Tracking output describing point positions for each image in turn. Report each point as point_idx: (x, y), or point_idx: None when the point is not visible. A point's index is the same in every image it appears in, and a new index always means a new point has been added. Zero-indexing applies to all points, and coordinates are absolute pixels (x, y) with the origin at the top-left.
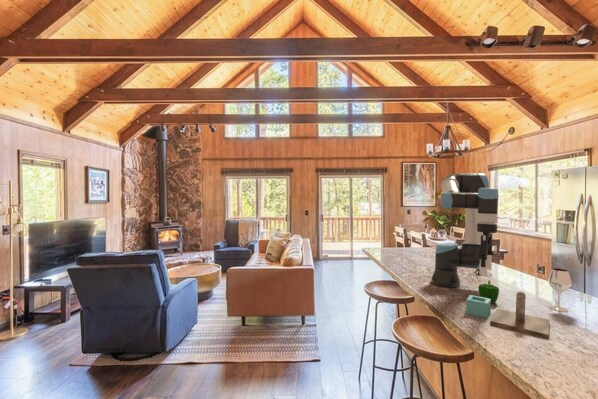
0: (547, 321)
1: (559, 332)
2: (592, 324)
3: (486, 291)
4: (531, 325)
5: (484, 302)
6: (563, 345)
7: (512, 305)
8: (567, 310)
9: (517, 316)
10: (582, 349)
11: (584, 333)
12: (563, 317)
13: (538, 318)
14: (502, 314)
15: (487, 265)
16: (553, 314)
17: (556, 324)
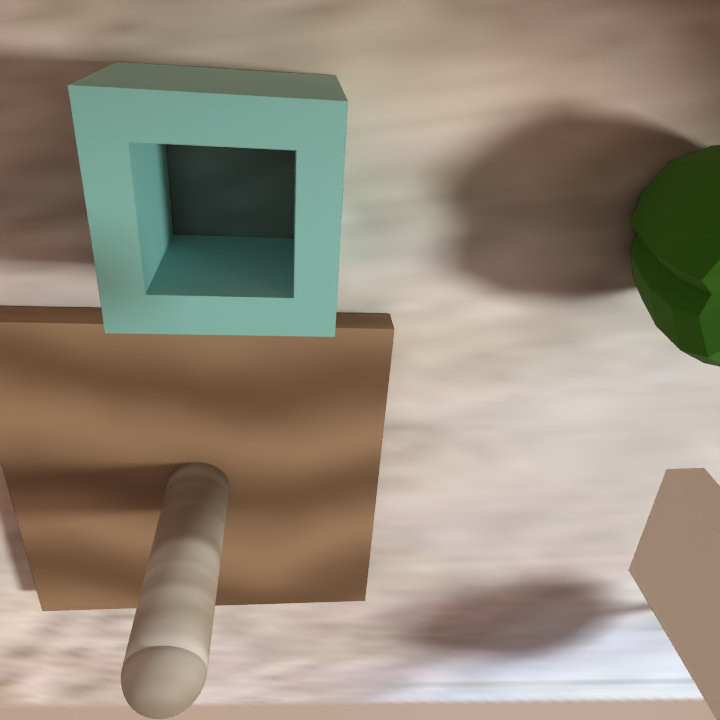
0: (315, 595)
1: (228, 617)
2: (499, 700)
3: (670, 255)
4: (140, 541)
5: (124, 299)
6: (14, 635)
7: (663, 393)
8: None
9: (165, 496)
10: (41, 683)
11: (313, 684)
12: (544, 620)
13: (341, 560)
14: (242, 381)
15: (698, 588)
16: (576, 586)
17: (372, 603)
